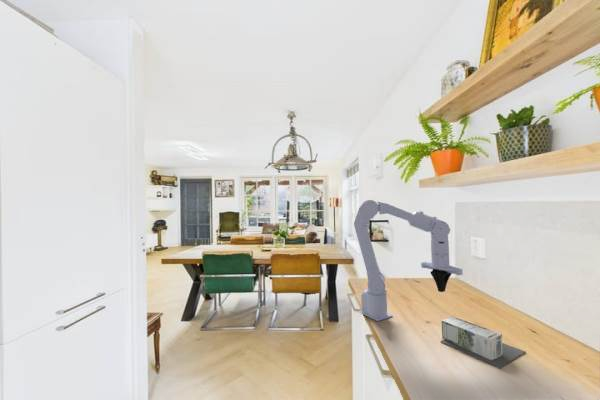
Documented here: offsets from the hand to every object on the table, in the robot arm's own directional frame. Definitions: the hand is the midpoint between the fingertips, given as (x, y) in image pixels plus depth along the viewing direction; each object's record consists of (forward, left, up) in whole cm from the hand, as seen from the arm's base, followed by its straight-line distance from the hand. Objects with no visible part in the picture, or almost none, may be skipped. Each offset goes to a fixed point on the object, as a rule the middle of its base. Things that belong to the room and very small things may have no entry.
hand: (441, 291), depth 99 cm
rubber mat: (+17, -8, -10) cm, 21 cm away
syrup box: (+8, -10, -7) cm, 15 cm away
